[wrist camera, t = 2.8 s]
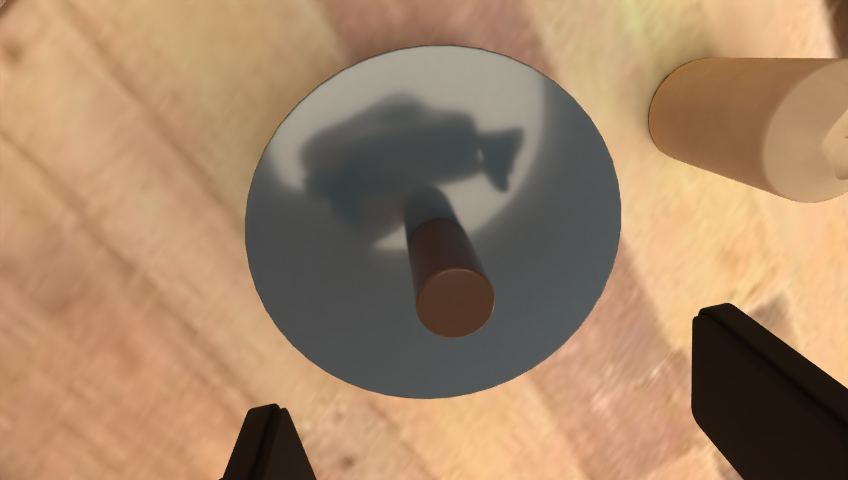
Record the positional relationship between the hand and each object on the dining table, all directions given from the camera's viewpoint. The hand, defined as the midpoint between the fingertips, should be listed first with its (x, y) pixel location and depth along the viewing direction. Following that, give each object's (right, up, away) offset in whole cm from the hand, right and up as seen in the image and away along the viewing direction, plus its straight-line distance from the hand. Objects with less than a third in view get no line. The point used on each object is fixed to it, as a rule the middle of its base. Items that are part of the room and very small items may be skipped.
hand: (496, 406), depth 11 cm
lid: (-1, +4, +9) cm, 10 cm away
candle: (+13, +11, +16) cm, 23 cm away
